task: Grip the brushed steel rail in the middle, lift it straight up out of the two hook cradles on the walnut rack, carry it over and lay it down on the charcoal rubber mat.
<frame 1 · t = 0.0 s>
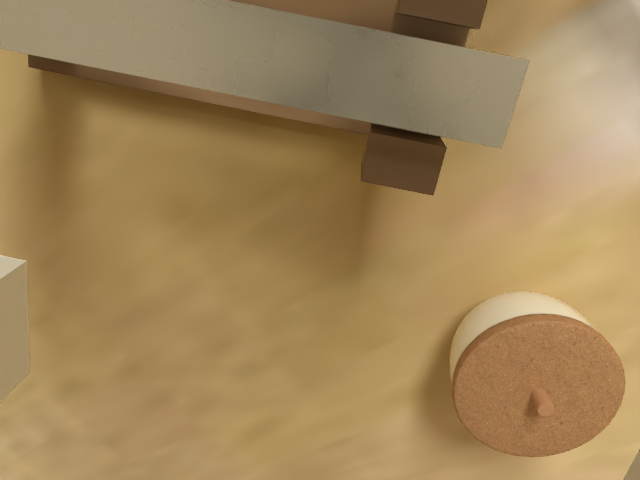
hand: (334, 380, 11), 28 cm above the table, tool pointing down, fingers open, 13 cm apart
steel rail: (156, 25, 22), point 14 cm above the table, touching hook rack
hook rack: (234, 25, 35), on the table
lidded jar: (508, 329, 42), on the table
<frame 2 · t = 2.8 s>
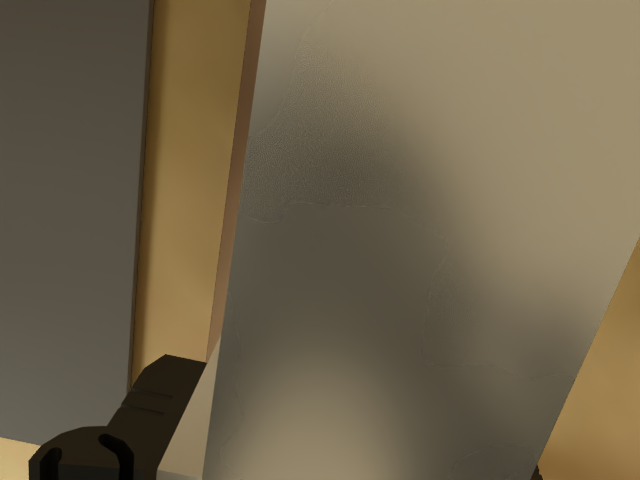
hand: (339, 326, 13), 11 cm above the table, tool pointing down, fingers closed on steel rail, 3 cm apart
steel rail: (330, 423, 10), point 14 cm above the table, touching gripper, hook rack
hook rack: (351, 197, 23), on the table
rubber mat: (30, 131, 23), on the table
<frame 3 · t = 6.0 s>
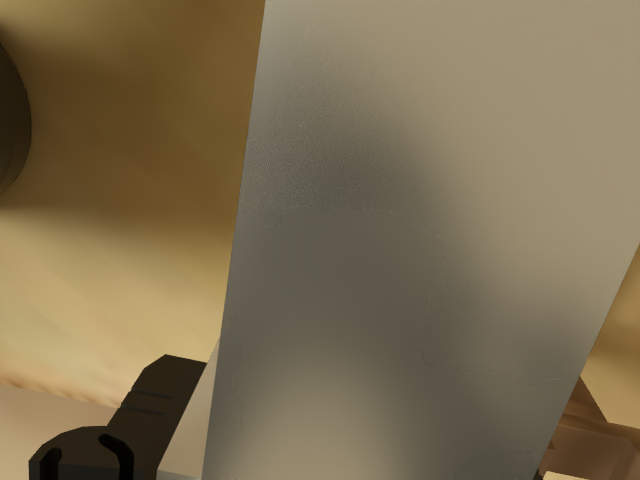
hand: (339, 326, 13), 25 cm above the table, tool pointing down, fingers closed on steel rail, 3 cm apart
steel rail: (329, 425, 10), point 28 cm above the table, touching gripper
hook rack: (560, 175, 36), on the table
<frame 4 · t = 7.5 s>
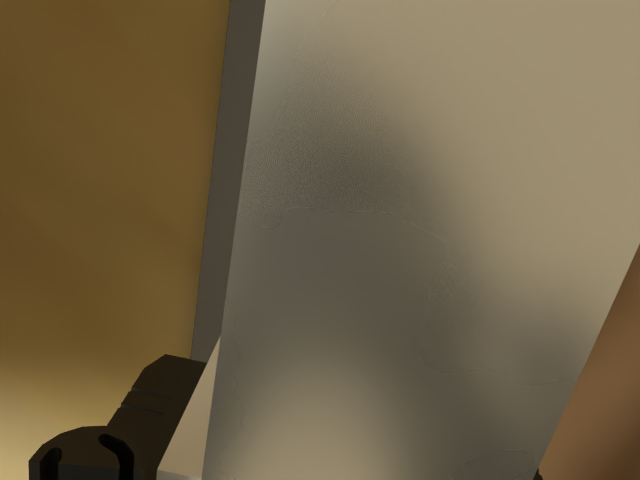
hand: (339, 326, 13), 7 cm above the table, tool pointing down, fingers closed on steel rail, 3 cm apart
steel rail: (329, 426, 10), point 11 cm above the table, touching gripper
rubber mat: (344, 219, 20), on the table
when the fingers open (1 cm above the table, at t = 9.0 s): steel rail drops 3 cm, point 2 cm above the table.
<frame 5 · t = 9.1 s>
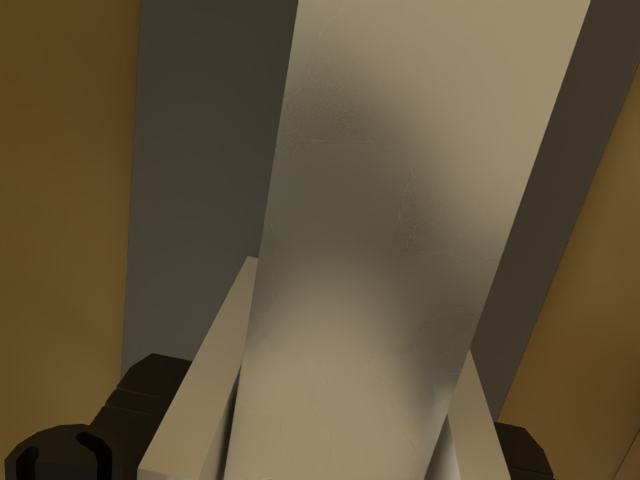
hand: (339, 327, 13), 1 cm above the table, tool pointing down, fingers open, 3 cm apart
steel rail: (333, 350, 12), point 2 cm above the table
rubber mat: (326, 306, 14), on the table
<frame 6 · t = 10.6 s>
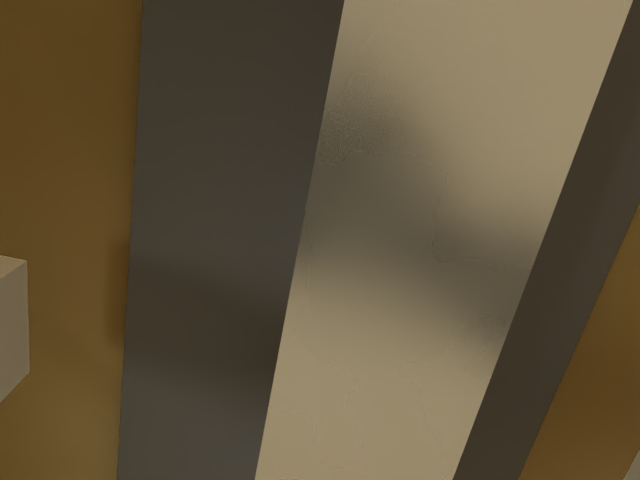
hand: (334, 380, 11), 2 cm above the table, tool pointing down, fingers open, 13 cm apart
steel rail: (353, 353, 12), resting on rubber mat
rubber mat: (341, 336, 13), on the table
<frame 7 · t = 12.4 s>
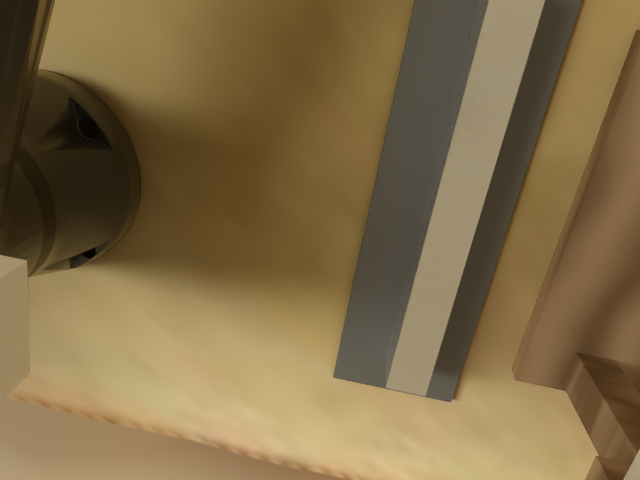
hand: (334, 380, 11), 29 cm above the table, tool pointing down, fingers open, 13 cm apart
steel rail: (447, 200, 39), resting on rubber mat
hook rack: (635, 234, 39), on the table
rubber mat: (442, 196, 39), on the table
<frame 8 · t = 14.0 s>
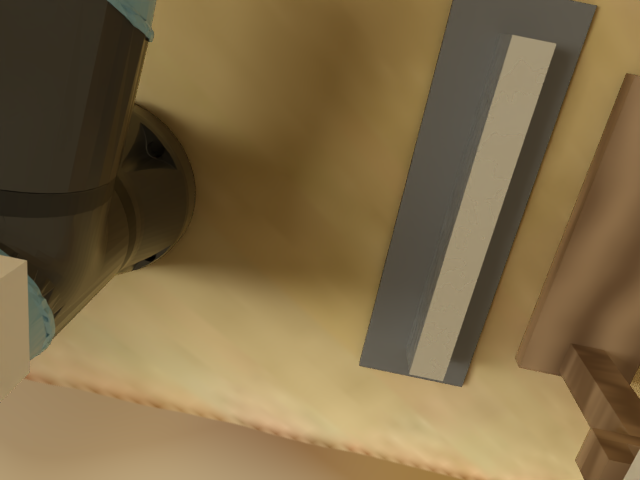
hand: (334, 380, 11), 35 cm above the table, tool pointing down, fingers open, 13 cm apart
steel rail: (464, 213, 45), resting on rubber mat
hook rack: (622, 243, 45), on the table
rubber mat: (460, 209, 45), on the table
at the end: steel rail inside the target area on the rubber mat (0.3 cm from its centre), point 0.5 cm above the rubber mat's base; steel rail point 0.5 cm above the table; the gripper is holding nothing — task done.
